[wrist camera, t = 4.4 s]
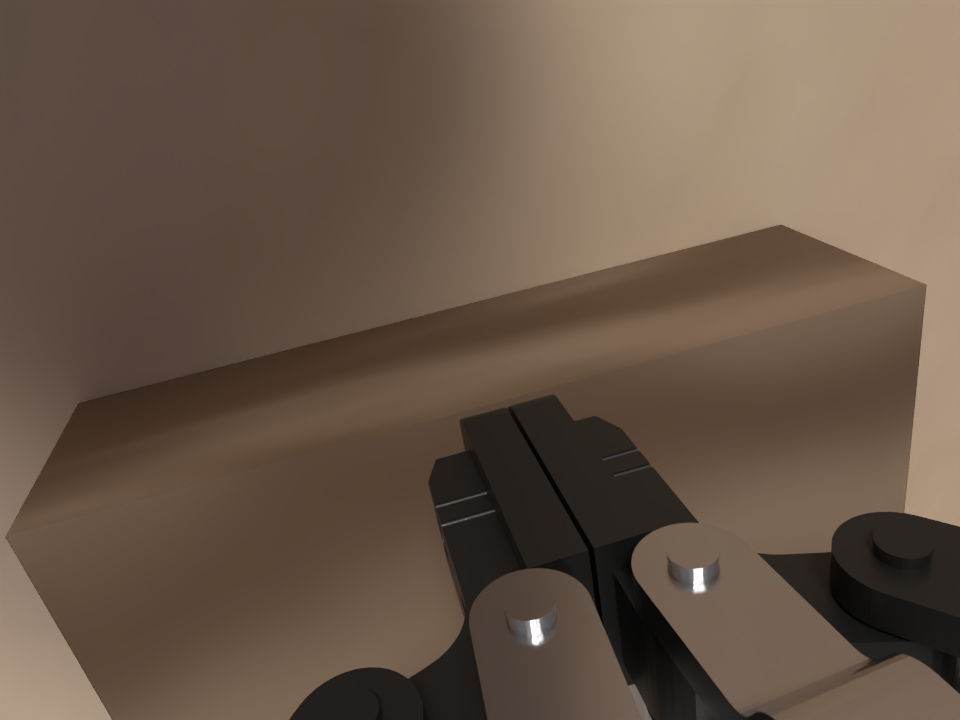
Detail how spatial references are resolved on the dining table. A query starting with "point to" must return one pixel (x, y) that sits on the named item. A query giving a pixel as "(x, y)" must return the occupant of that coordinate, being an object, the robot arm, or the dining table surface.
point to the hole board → (436, 434)
